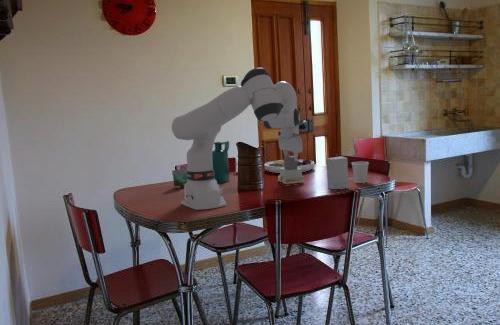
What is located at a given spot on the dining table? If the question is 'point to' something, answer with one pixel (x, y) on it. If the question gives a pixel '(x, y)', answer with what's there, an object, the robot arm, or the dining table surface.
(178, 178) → the food container
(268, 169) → the bowl
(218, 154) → the teal gas canister
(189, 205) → the robot arm
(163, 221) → the dining table surface
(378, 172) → the dining table surface
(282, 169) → the tower top
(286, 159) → the grey block
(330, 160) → the skincare box
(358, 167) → the dixie cup
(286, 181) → the tower base
